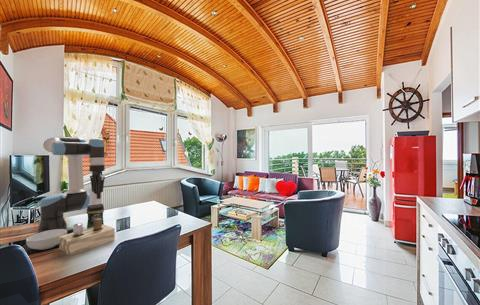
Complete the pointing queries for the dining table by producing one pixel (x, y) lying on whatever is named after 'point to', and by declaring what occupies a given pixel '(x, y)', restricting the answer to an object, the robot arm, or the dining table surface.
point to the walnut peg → (97, 224)
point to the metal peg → (77, 230)
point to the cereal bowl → (45, 239)
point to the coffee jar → (94, 214)
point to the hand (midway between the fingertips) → (97, 203)
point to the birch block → (86, 240)
